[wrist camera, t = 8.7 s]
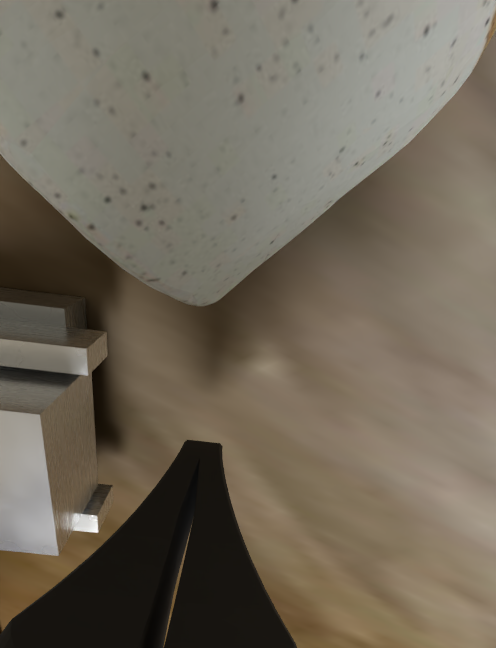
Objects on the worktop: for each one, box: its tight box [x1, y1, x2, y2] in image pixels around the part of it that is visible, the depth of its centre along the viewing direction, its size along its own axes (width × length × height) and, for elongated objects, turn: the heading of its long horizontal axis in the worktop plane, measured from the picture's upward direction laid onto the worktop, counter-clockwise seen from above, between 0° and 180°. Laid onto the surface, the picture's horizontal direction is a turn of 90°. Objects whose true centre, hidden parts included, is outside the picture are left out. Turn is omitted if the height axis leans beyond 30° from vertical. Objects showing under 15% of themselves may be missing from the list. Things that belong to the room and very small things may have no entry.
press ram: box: [0, 366, 98, 556], centre depth 11 cm, size 6×4×3 cm, turn 173°
